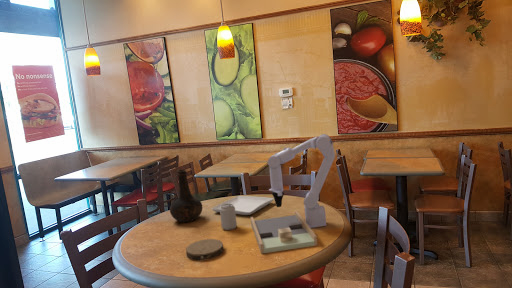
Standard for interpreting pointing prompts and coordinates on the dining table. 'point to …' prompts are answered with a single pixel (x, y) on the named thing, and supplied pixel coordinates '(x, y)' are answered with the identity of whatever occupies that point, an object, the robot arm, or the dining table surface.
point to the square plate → (245, 204)
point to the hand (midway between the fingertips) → (278, 206)
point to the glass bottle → (185, 202)
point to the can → (228, 216)
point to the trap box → (270, 239)
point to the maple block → (285, 234)
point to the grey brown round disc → (204, 249)
